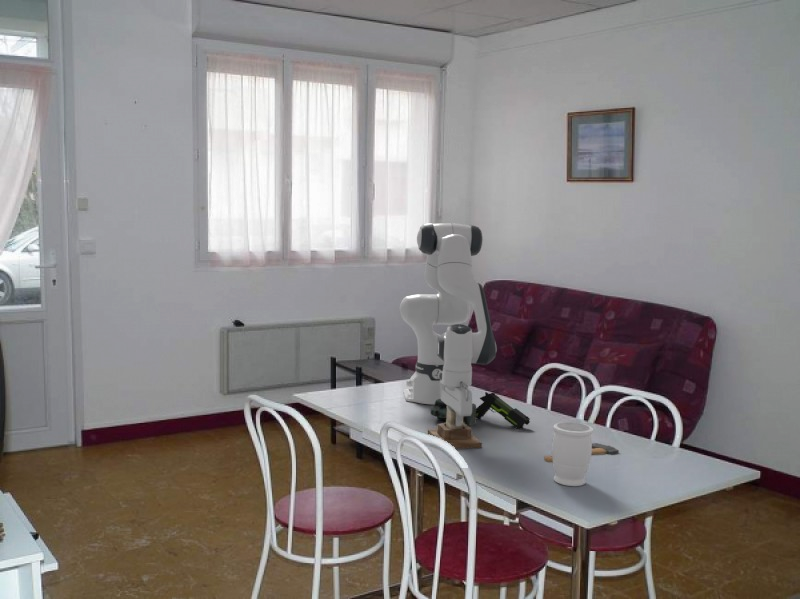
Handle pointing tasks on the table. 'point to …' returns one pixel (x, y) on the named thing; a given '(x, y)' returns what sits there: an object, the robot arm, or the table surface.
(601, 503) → the table surface
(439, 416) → the sculpture
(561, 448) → the jar
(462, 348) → the robot arm
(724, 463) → the table surface
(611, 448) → the hand axe
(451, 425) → the maple post
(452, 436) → the walnut base
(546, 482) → the table surface
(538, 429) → the table surface
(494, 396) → the pistol
